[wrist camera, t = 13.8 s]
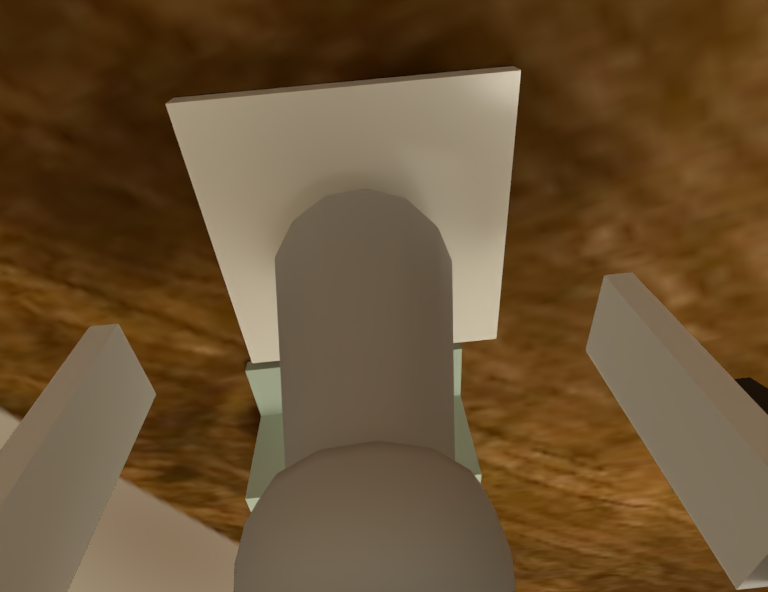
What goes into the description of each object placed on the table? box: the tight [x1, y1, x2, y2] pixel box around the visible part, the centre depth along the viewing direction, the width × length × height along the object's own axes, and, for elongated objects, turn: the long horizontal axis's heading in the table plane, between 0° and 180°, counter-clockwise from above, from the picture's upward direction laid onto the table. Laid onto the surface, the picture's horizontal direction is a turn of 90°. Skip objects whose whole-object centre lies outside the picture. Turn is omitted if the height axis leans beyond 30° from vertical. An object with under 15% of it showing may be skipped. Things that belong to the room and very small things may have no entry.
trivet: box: [165, 66, 521, 363], centre depth 18 cm, size 11×11×1 cm
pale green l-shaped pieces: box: [245, 342, 481, 512], centre depth 25 cm, size 18×10×5 cm, turn 4°
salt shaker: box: [234, 189, 516, 592], centre depth 12 cm, size 6×6×13 cm
